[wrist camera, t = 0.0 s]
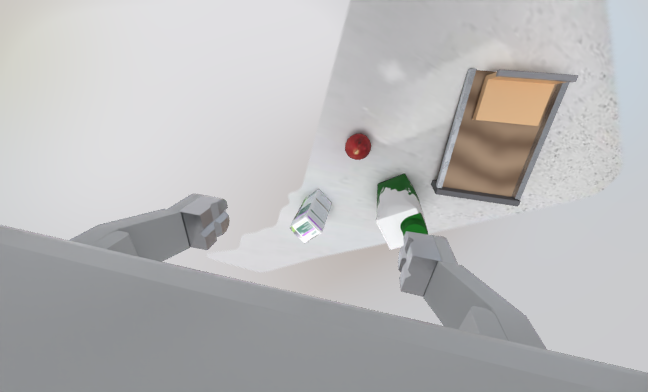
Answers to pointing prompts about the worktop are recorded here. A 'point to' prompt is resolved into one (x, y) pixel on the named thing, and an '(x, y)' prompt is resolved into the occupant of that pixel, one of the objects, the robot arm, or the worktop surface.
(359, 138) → the onion
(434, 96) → the worktop surface
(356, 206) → the worktop surface
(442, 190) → the dock
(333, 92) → the worktop surface
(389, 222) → the milk carton
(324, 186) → the worktop surface
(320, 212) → the syrup box
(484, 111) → the cart
